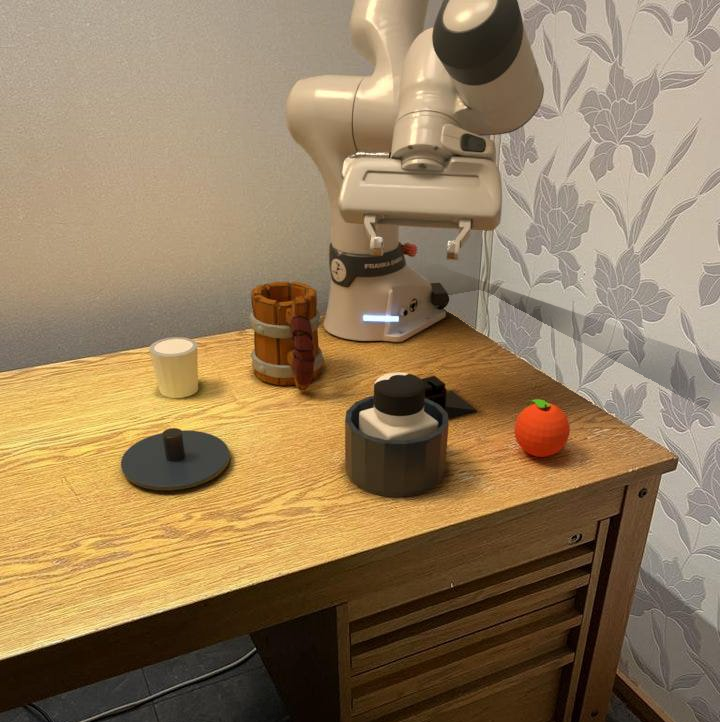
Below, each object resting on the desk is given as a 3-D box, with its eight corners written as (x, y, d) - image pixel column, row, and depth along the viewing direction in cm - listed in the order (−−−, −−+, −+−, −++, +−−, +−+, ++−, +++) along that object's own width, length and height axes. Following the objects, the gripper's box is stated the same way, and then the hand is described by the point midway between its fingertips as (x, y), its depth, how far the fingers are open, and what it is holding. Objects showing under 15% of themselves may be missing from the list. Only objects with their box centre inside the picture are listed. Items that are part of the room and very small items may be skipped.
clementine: (498, 440, 107) (504, 392, 103) (544, 432, 108) (552, 385, 105) (527, 471, 100) (534, 421, 96) (575, 461, 102) (584, 413, 98)
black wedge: (401, 432, 108) (402, 402, 106) (376, 409, 114) (376, 380, 111) (477, 412, 113) (480, 382, 110) (450, 391, 118) (452, 362, 116)
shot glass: (197, 400, 116) (192, 356, 112) (150, 399, 116) (143, 355, 112) (206, 379, 121) (201, 336, 117) (161, 378, 121) (155, 335, 118)
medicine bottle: (436, 471, 99) (442, 384, 93) (387, 487, 96) (390, 398, 90) (405, 445, 104) (408, 361, 98) (357, 460, 101) (358, 374, 95)
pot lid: (194, 427, 109) (190, 397, 106) (250, 467, 101) (248, 435, 98) (103, 462, 102) (96, 430, 99) (156, 508, 93) (150, 474, 91)
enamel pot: (396, 434, 108) (398, 384, 104) (464, 471, 100) (469, 419, 96) (325, 466, 101) (324, 414, 97) (393, 509, 93) (395, 455, 89)
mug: (310, 351, 130) (307, 261, 122) (343, 396, 117) (342, 297, 109) (245, 361, 127) (237, 268, 118) (272, 407, 114) (265, 307, 106)
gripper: (341, 135, 99) (326, 238, 96) (508, 141, 96) (498, 247, 93) (347, 165, 105) (334, 262, 102) (505, 172, 102) (495, 272, 99)
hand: (414, 255), depth 98 cm, fingers open, 8 cm apart
